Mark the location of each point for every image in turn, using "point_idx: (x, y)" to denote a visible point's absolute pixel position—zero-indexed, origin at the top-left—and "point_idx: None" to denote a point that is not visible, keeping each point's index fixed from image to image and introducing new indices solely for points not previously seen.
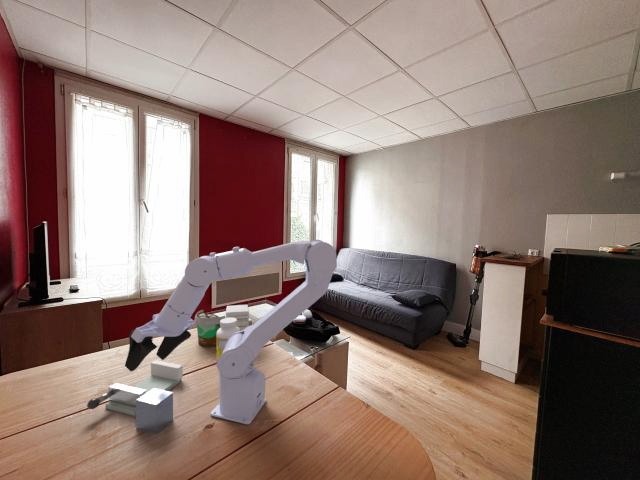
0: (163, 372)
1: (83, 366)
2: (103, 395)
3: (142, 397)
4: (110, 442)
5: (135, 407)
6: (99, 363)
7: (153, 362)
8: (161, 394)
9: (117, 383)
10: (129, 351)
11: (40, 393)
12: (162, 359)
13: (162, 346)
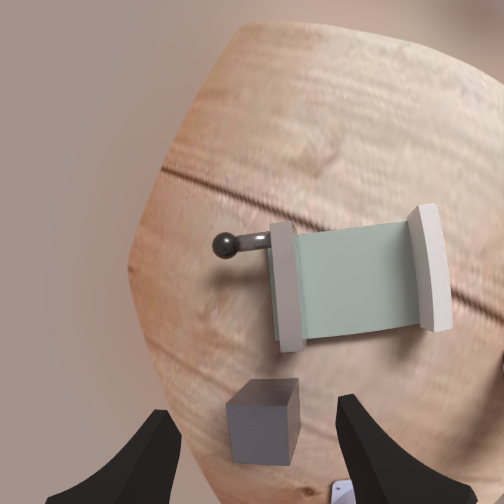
0: (420, 267)
1: (333, 45)
2: (247, 243)
3: (239, 412)
4: (208, 361)
5: None
6: (359, 55)
7: (424, 210)
8: (270, 447)
9: (290, 229)
10: (117, 458)
11: (245, 77)
12: (336, 425)
13: (353, 441)
